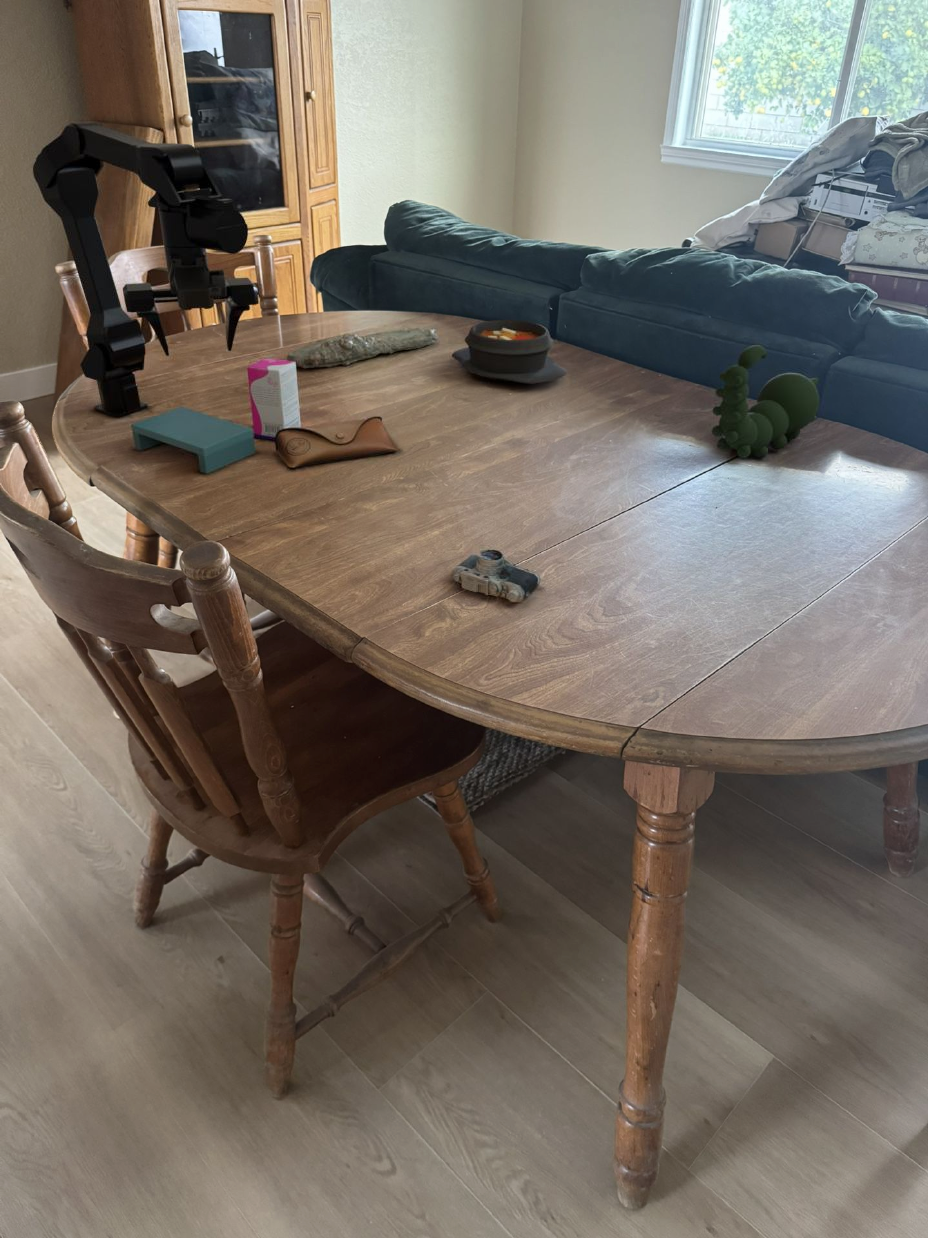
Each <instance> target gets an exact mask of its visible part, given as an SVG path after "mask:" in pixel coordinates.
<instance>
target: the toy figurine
mask: <svg viewBox="0 0 928 1238" xmlns="http://www.w3.org/2000/svg"><path fill="white" fill-rule="evenodd" d="M760 358H761V359H766V358H767V351H766V349H765V347H764V346H761V345H759V344H755V345H754V344H753V345H750V346H749V347H747V348H745V349H744V350H742V352H741V353H740V354H739V356H738V359H737V364H735V365H731V366H729V368H727V369H726V371H723V372H720V374H719V380H721V381H722V382H724V384H723V386H720V387H717V389H716V390H715V395H716V396H717V397H718V398H721V399H722V401H721V402H720V404H719V405H715V406H714V407H713V409H712V413H713V415H715V416H720V418H719V420H718V424H716V425H715V426H712V429H711V434H712V435H713V437H715V438H718V440H717V442H716V446H717V448H718V449H719V450H721V451H725V450H728V449H729V448H732V449H734V450H736V453H737V456H738V457H739V458H744V459H745V458H747V457H749V456H750V455H751V453H753V454H754V456H756V457H757V458H759V459H762V458H765V457H766V456H767V455H768V453H769V448H768V447H767V446H768V445H770V447H771V448H772V449H774V450H782V449H784V448H785V446H786V445H787V443H788V441H791V440H795V439H797V438H798V437H799V436H800V434H801V430H802V429H804V428H805V427H807V426H808V425H809V424H810V423H813V422H814V421H815V420H816V415H817V414H818V410H819V406H820V396H819V392H818V389H817V385H818V383H819V378H818V377H813V378H808V377H807V376H806V375H803V374H802V373H797V372H785V373H781V374H778V375H776V376H774V377H772V378H771V379H769V380H768V381H767V382H765V384H764V385H763V386H762V388H761V390H760V391H759V393H758V396H757V400H756V403H754V404H753V405H752V406H751V407H750V406H749V405H750V404H749V402H748V400H747V399H748V396H749V394H750V393H749V392H750V391H749V386H748V384H747V383H748V381H749V373H748V370H749V369H751V368H753V367H754V365H756V363H757V362H758V361H759V360H760Z"/></svg>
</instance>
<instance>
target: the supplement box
mask: <svg viewBox="0 0 928 1238" xmlns="http://www.w3.org/2000/svg"><path fill="white" fill-rule="evenodd" d="M246 369H247V370H246V371H247V382H248V390H249V401H250V409H251V417H252V418H251V419H252V427H253V428H252V429H253V436H254V438H259V439H265V440H272V441H275V436H276V433H277V432H278V431H279V430H281V429H284V428H293V427H296V428H297V427H298V428H302V426H301V425H302V424H301V423H302V422H301V413H300V404H299V403H300V401H299V400H300V399H299V388H298V377H297V375H298V374H297V367H296V362H293V361H287V360H283V359H275V358H266V357H264V358H261V359H260V360H258V361H256V362H255V363H253V364H250V365H249V366H247V368H246Z"/></svg>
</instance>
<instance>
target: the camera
mask: <svg viewBox="0 0 928 1238" xmlns="http://www.w3.org/2000/svg"><path fill="white" fill-rule="evenodd" d="M452 579H453V580H454V581H455V582H457V583H460V584H461V588H462V589H463V590H464V591H465V590H466V591H470V592H473V593H482V594H485V596H493V597H497V598H498V597H500V598H504V599H506V600H508V601H510V603H522V601H524V600H525V599H526V598H527V597H530V595H531V594H532V593H533V592H535V590H536V589H538V588H539V587H540V584H541V578H540V576H539V575H538V574H537V573H536V572H535V571H533V570H529V569H527V568H523V567H520V566H518V565H516V564H514V563H511V562H510V561H508V560H507V558H505V556H504V554H503V552H502V551H500V550H497V549H486V548H485V549H482V550H480V551H479V552H478V554H471V555H469V556H467V558H465V559H464V560H463V561H462V562H461V563H459V564H458V565H456V566H455V567H453V570H452Z"/></svg>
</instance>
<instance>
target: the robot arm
mask: <svg viewBox="0 0 928 1238" xmlns="http://www.w3.org/2000/svg"><path fill="white" fill-rule="evenodd" d="M104 163H106V164H109V165H111V166H114V167H117V168H120V169H123V170H126V171H127V172H128V171H129V172H131V173H134V174H135V175H137V176H138V178H139V180H140V182H141V183H142V184H143V185H145V186H146V187H148V188H149V189H151V190H153V191H154V194H153V195H152V196H151V197H150V199H149V200H148V201H147V205H148V207H150V208H153V209H154V208H155V209H158V213H159V220H160V228H161V234H162V242H163V250H164V255H165V256H164V257H165V263H166V270H167V271H166V272H167V278H168V284H169V285H168V286H169V288H155V289H154V288H152V285H151V283H150V282H139V283H138V282H137V283H125V284H124V286H123V287H122V293H123V298H124V304H125V308H126V312H125V310H123V307H122V304H121V300H120V297H119V294H118V290H117V287H116V283H115V280H114V276H113V272H112V270H111V267H110V263H109V259H108V256H107V253H106V249H105V245H104V242H103V238H102V234H101V231H100V228H99V225H98V220H97V218H96V215H95V213H96V207H97V203H98V200H99V199H98V198H99V194H100V190H99V186H98V180H97V177H99V174H100V173H101V171H102V170H103V168H104V166H105V164H104ZM32 174H33V179H34V180H35V182H36V184H37V186H38V188H39V189H38V190H39V191H40V194H41V196H42V198H43V200H44V202H45V203H46V204H47V205H48V206H49V207H50V208H51V209H52V210H53V212H55V214H56V215H58V217H59V218H60V220H61V222H62V226H63V229H64V233H65V236H66V239H67V242H68V246H69V249H70V253H71V255H72V259H73V262H74V265H75V268H76V271H77V275H78V278H79V281H80V285H81V289H82V291H83V294H84V298H85V301H86V304H87V307H88V308H87V309H88V311H89V315H90V316H89V318H88V319H89V320H88V323H87V328H86V332H85V335H86V342H87V345H88V349H87V351H86V353H85V355H84V357H83V358H82V360H81V363H80V368H81V370H82V372H83V375H84V377H85V378H86V379H87V378H88V379H90V380H93V381H96V383H97V389H98V395H99V398H100V399H99V400H100V403H99V404H97V405H95V406H94V405H93V410H95V411H97V412H100V413H104V414H105V415H106V414H107V415H109V416H112V417H115V418H120V417H124V416H127V415H129V414H132V413H135V412H139V411H141V410H144V409H147V408H149V405H148V404H147V403H145V402H142V401H141V400H140V399H141V398H140V393H139V388H138V384H137V381H136V375H135V374H134V373H136V372H138V371H143V370H145V369H144V368H145V358H146V352H147V351H146V344H147V342H146V340H145V338H144V335H143V331H142V326H141V323H140V321H139V320H138V319H137V318H133V319H132V318H131V316H129V315H128V314H127V313H136V316H137V317H138V318H144V319H145V320H146V321H147V322H148V324H149V326H151V328H152V330H153V331H154V333H155V335H156V337H157V340H158V341H159V344H160V346H161V347H162V350H163V352H164V354H165V356H166V357H169V356H170V352H169V346H168V345H169V344H168V342H167V339H166V336H165V333H164V328H163V325H162V321H161V318H160V314H159V311H158V308H157V305H156V304H165V303H166V304H167V303H178V307H179V309H181V310H183V311H192V310H193V309H204V310H210V309H212V308H214V306H215V300H224V308H225V309H224V311H225V312H224V313H225V315H224V316H225V341H226V347H227V351H228V352H231V351H232V349H233V345H234V341H235V336H236V332H237V327H238V324H239V321H240V318H241V317H242V315H243V313H244V312H247V311H250V310H251V306H256V305H258V304H260V303H259V302H260V301H259V292H258V288H257V286H256V284H254V282H253V281H252V280H251V279H250V278H249V277H233V278H231V277H229V278H226V275H225V272H224V270H223V269H217V270H216V269H215V270H214V269H212V270H211V269H210V270H209V264H208V256H207V250H210V251H215V252H220V253H224V254H229V255H236V254H238V253H240V252H241V251H242V250H243V249H244V248H245V246H246V243H247V241H248V237H249V226H248V224H247V223H246V220H245V217H244V216H243V214H242V213H241V212H240V211H238V210H237V209H235V202H234V199H231V198H223V195H222V193H221V192H220V190H219V188H218V187H219V186H218V185H217V183H216V182H215V180H214V179H213V177H212V175H211V173H210V171H209V170H208V168H207V165H206V164H205V163H204V160H203V158H202V157H201V156H200V155H199V150H198V148H196V147H195V146H193V145H191V144H189V143H175V142H174V143H170V142H169V143H167V142H166V143H164V142H163V143H162V142H161V143H157V142H149V141H147V140H144V139H140V138H139V137H136V136H132V135H129V134H126V133H123V132H120V131H118V130H114V129H112V128H108V127H106V126H103V125H102V124H101V123H98V122H96V121H83V122H71V123H69V124H68V125H66V126H64V128H63V130H62V132H61V133H60V135H59V136H57V137H56V138H54V139H53V140H52V141H50V142H49V143H48V144H47V145H45V146H44V147H43V148H42V149H41V151H40V153H38V154H37V156H36V157H35V161H34V163H33V166H32Z"/></svg>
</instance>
